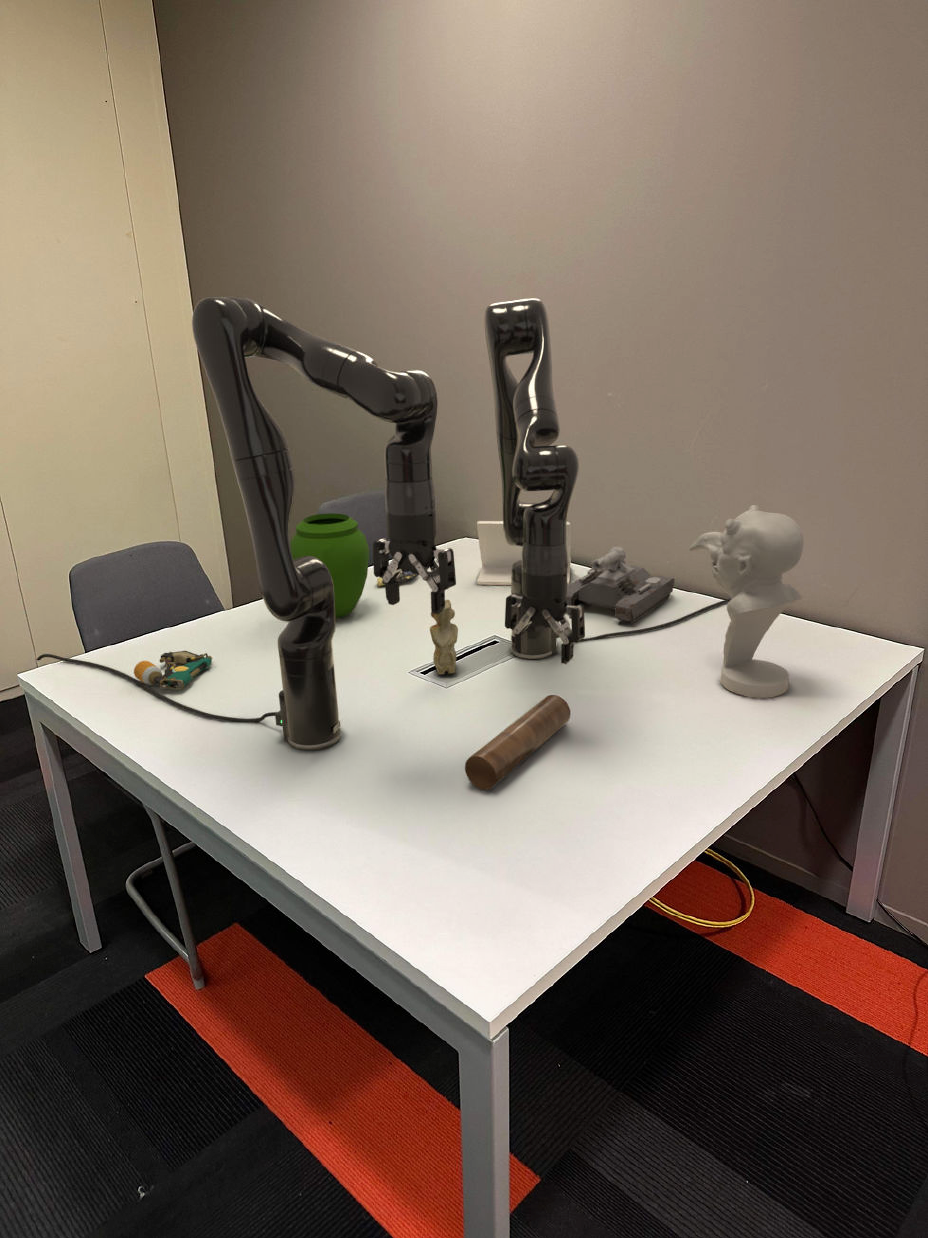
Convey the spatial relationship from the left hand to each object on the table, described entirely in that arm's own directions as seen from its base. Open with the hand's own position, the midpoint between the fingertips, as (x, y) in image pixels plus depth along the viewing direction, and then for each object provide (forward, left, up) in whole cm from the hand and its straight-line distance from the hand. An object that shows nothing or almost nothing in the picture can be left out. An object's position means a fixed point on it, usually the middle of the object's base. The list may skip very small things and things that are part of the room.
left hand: (415, 608), depth 135 cm
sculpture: (-13, +35, -28) cm, 47 cm away
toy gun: (-52, +88, -28) cm, 106 cm away
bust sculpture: (+44, +52, -28) cm, 73 cm away
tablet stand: (-20, +102, -28) cm, 108 cm away
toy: (+10, +87, -28) cm, 92 cm away
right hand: (+16, +16, -13) cm, 26 cm away
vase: (-54, +56, -28) cm, 83 cm away
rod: (+14, +8, -28) cm, 32 cm away
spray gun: (-65, +12, -28) cm, 71 cm away
